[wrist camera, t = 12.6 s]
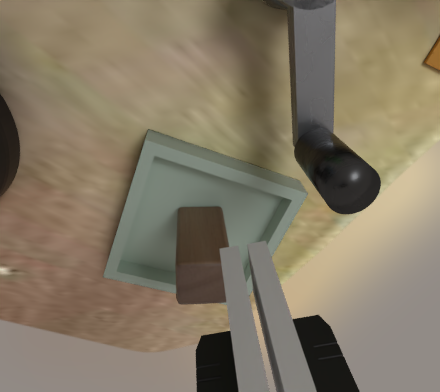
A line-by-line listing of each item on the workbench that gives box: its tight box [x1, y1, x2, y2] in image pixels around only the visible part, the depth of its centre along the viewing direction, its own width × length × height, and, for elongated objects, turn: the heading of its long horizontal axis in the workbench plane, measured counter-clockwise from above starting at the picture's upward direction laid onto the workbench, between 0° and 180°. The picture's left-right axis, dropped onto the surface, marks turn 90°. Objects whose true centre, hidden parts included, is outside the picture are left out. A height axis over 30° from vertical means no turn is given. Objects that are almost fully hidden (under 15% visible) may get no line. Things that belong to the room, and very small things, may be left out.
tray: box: [103, 129, 308, 305], centre depth 31 cm, size 14×14×2 cm
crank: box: [278, 0, 381, 214], centre depth 19 cm, size 15×5×7 cm, turn 8°
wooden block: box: [175, 206, 229, 304], centre depth 28 cm, size 4×4×8 cm
